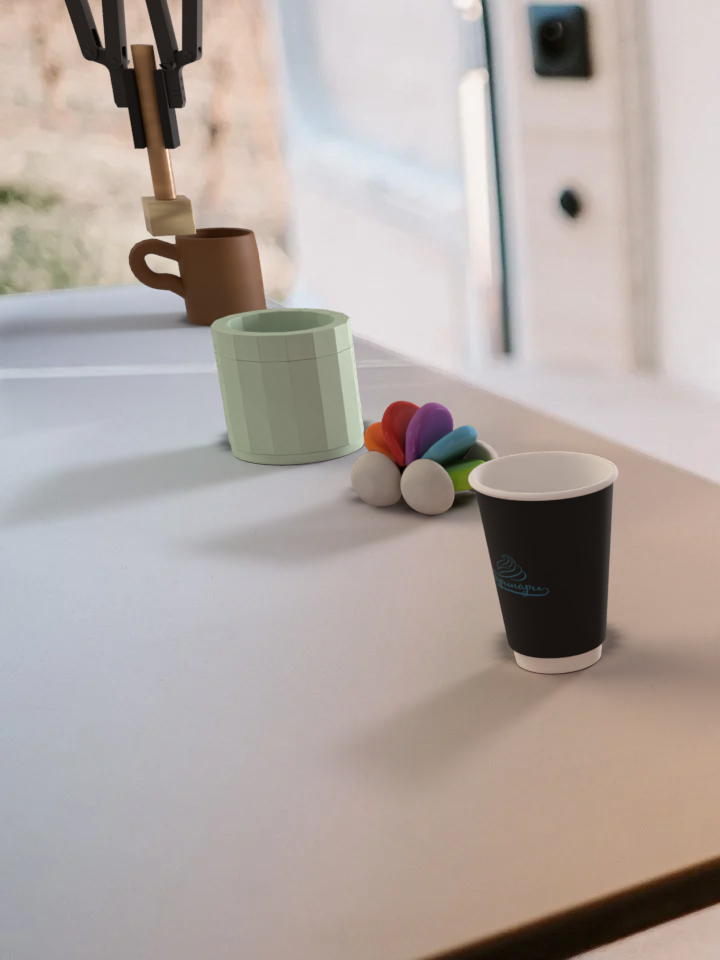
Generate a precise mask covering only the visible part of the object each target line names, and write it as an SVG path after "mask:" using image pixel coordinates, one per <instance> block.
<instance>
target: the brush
mask: <svg viewBox="0 0 720 960" xmlns="http://www.w3.org/2000/svg"><path fill="white" fill-rule="evenodd" d="M129 46H130V47H129V48H130V52H131V58H132V64H133V65H132V66H133V68H134V72H135V78H136V84H137V90H138V96H139V102H140V109H141V115H142V121H143V127H144V133H145V140H146V146H147V147H146V151H147V159H148V163H149V171H150V177H151V182H152V188H153V195H152V196H149V195H148V196H141V197H140V200H141V205H142V210H143V217H144V223H145V228H146V229H145V230H146V231H147V233H149V234H150V235H151V237H153V238H155V237H170V236H171V237H173V236H174V237H175V235H191V234H196V229H197V228H196V223H195V216H194V215H195V214H194V210H193V209H194V208H193V204H192V203H193V202H192V200H191V199H190V198H189V197H188V196H186V195H185V194H177V190H176V189H177V188H176V183H175V177H174V170H173V163H172V156H171V149H165V145H164V139H163V132H162V126H161V120H160V113H159V107H158V101H157V94H156V88H155V82H154V75H153V71H155V70H157V69H158V66H157V61H156V53H155V48H154V45H153V44H149V43H148V44H147V43H135V44H134V43H133V44H130V45H129Z"/></svg>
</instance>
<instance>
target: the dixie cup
mask: <svg viewBox="0 0 720 960" xmlns="http://www.w3.org/2000/svg"><path fill="white" fill-rule="evenodd" d="M618 477H619V469H618V467H617V466H616V464H615V463H613V462H612V461H611V460H609V459H607V458H605V457H602V456H598V455H595V454H591V453H585V452H576V451H563V450H561V451H560V450H549V451H531V452H521V453H516V454H509V455H504V456H501V457H499V458H496V459H493V460H490V461H487V462H485V463H483V464H481V465H479V466H477V467H476V468H474V469H473V470H472V471H471V473H470V474H469V477H468V481H469V484H470V486H471V487H472V488H474V489H475V491H476V492H475V495H476V501H477V504H478V510H479V513H480V519H481V524H482V528H483V532H484V533H483V534H484V538H485V542H486V547H487V551H488V555H489V560H490V566H491V570H492V575H493V579H494V583H495V588H496V594H497V598H498V602H499V607H500V612H501V616H502V621H503V625H504V630H505V635H506V639H507V644H508V647H509V648H510V649H511V650H512V651H513V654H514V659H515V662H516V664H517V665H518V666H519V667H520V668H521V669H524V670H525V671H529V672H532V673H537V674H538V673H539V674H550V675H551V674H565V673H572V672H576V671H580V670H584V669H586V668H588V667H590V666H592V665H594V664H596V663H597V662H599V660H600V659H601V657H602V647H603V643H604V642H605V640H606V638H607V623H608V622H607V621H608V604H609V602H608V601H609V583H610V582H609V580H610V561H611V560H610V559H611V542H612V540H611V539H612V522H613V521H612V520H613V517H612V516H613V499H614V483H615V481H617V479H618Z"/></svg>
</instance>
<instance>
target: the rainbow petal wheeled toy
mask: <svg viewBox="0 0 720 960" xmlns="http://www.w3.org/2000/svg"><path fill="white" fill-rule="evenodd" d="M451 413H452V412H450V410H449V409H448V408H447V407H446V406H444V405H443V404H441V403H439V402H428V403H424V404H423V405H422V406H421V407H420V406H418V405H417V404H416V403H413V402H411V401H407V400H396V401H393V402H392V403H390V404H389V405H388V406H387V407H386V409H385V410H384V412H383V415H382V418H381V421H377V422H374V423H372V424H370V425H369V426H368V427H366V429H365V431H364V433H363V435H364V447H365V449H366V450H367V452H365V453H363V454H361V455H360V456H359V457H358V458H357V459H356V461H355V462H354V463H353V465H352V468H351V471H350V483H351V486H352V489H353V491H354V493H355V494H356V496H357V497H358V498H360V499H361V500H362V501H363V502H364V503H366V504H369V505H370V506H374V507H389V506H392V505H394V504H396V503H397V502H398V501H400V499H401V497H402V498H403V499H404V501H405V502H406V504H407V505H408V506H409V507H410V508H411V509H413V510H415V511H416V512H419V513H420V514H425V515H430V516H433V515H441V514H443V513H446V512H447V511H448V510H449V509H450V508H451V507H452V506H453V503H454V500H455V493H458V492H465V491H469V492H472V493H476V491H475V489H474V488H472V487H471V486H470V484H469V481H468V477H469V474H470V473H471V471H472V470H473V469H474V468H476V467H477V466H479V465H481V464H483V463H485V462H487V461H490V460H493V459H496V458H500V457H499V456H498V453H497V452H496V450H495V449H494V448H493V447H492V446H491V445H490V444H489V443H487V442H485V441H483V440H481V439H478V431H477V430H476V428H475V427H473V426H471V425H469V424H467V425H466V424H465V425H462V426H458V427H457V428H455V429H454V419H453V416H452V414H451Z"/></svg>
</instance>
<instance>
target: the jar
mask: <svg viewBox="0 0 720 960" xmlns="http://www.w3.org/2000/svg"><path fill="white" fill-rule="evenodd" d="M210 331H211V337H212V344H213V350H214V358H215V363H216V369H217V376H218V382H219V388H220V395H221V400H222V401H221V402H222V407H223V412H224V419H225V426H226V432H227V437H228V443H229V444H230V449H231V453H232V455H233V457H235V458H237V459H238V460H241V461H244V462H249V463H253V464H259V465H270V466H271V465H272V466H273V465H275V466H276V465H277V466H283V465H284V466H285V465H286V466H289V465H291V466H292V465H302V464H304V465H305V464H310V463H313V464H314V463H319V462H325V461H329V460H334V459H338V458H342V457H345V456H348V455H350V454H353V453H354V452H356V451H358V450H360V449H361V448H362V447H363V446H364V445H365V443H364V433H365V427H364V426H365V425H364V419H363V412H362V404H361V395H360V386H359V380H358V372H357V362H356V355H355V347H354V340H353V333H352V332H353V331H352V324H351V317H350V316H348V315H347V314H345V313H343V312H340V311H335V310H332V309H331V310H330V309H323V308H309V307H290V308H288V307H286V308H285V307H284V308H283V307H282V308H269V309H268V308H267V310H256V311H249V312H244V313H239V314H233V315H229V316H226V317H223V318H220V319H218V320H215V321H214V323H213V324H212V325H211V326H210Z"/></svg>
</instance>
